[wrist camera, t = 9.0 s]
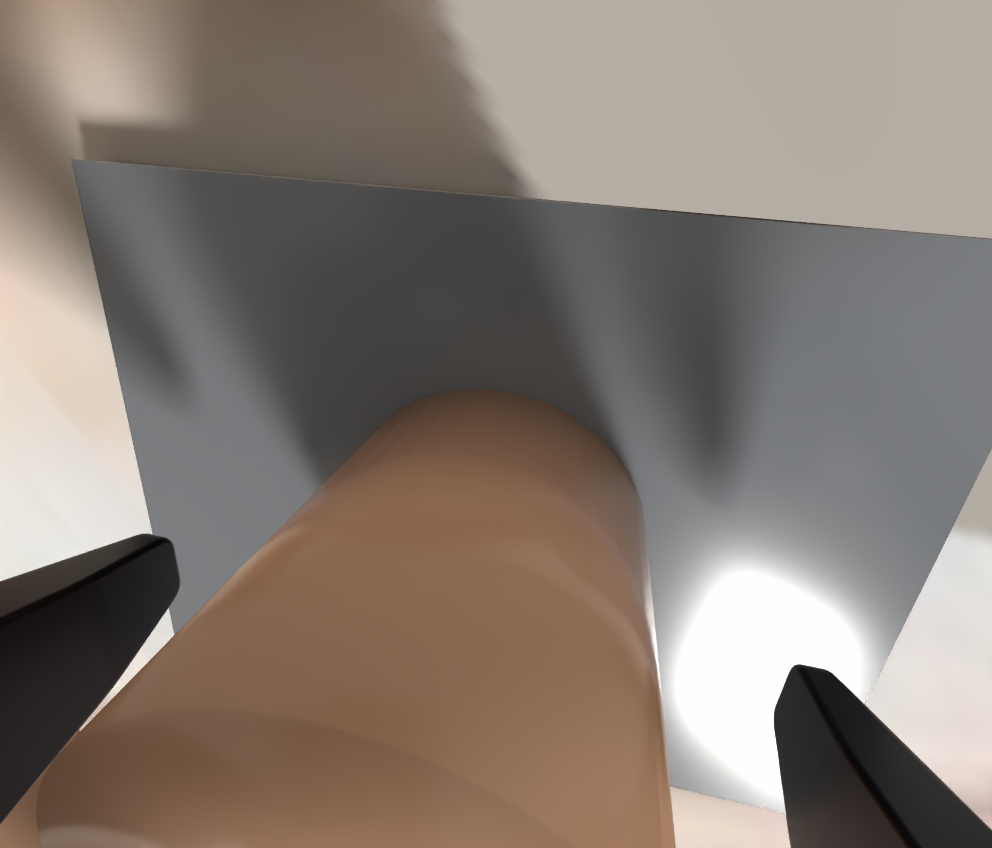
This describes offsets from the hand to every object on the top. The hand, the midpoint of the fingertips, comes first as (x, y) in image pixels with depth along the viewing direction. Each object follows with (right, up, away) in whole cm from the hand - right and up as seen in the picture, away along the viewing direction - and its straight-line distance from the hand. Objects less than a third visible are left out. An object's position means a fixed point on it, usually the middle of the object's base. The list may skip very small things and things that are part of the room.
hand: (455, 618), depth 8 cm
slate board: (+1, +1, +2) cm, 3 cm away
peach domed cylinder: (0, +1, +2) cm, 2 cm away
